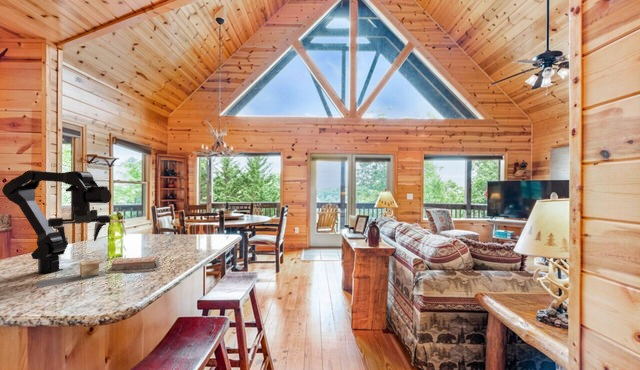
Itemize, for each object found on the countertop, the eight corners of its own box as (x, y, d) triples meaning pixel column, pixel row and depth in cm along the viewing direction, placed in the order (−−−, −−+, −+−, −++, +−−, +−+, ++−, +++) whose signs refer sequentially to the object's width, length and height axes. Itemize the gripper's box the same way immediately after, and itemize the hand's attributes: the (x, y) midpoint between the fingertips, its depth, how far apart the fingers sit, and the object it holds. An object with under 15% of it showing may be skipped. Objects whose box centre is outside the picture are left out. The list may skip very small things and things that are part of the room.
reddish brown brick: (161, 254, 129) (155, 260, 119) (161, 265, 129) (155, 272, 119) (114, 256, 124) (104, 263, 114) (114, 268, 124) (104, 275, 114)
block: (98, 262, 111) (98, 275, 111) (96, 260, 115) (96, 272, 115) (82, 265, 108) (82, 278, 108) (80, 262, 111) (79, 275, 111)
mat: (36, 289, 98) (36, 287, 98) (35, 282, 104) (35, 281, 104) (106, 276, 111) (106, 275, 111) (101, 271, 118) (101, 270, 118)
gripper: (50, 205, 104) (49, 249, 104) (113, 203, 117) (113, 242, 117) (47, 203, 111) (47, 244, 111) (107, 201, 125) (107, 238, 125)
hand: (80, 242), depth 116 cm, fingers open, 9 cm apart
